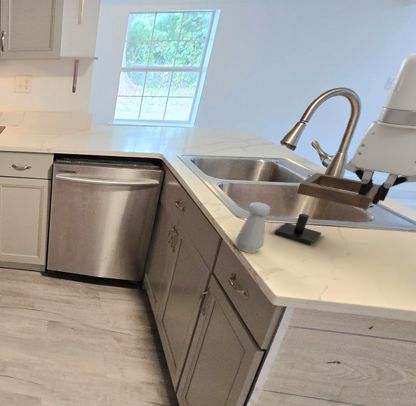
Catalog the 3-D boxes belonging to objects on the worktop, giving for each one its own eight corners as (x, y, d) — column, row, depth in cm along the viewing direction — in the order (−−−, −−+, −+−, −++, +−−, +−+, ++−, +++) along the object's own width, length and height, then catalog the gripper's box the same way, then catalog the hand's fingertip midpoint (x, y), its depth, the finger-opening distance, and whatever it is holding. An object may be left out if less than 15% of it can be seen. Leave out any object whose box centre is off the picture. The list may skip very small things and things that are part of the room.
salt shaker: (251, 243, 98) (264, 199, 93) (266, 254, 93) (281, 208, 88) (229, 243, 99) (241, 199, 94) (242, 255, 93) (256, 209, 88)
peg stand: (320, 236, 101) (328, 216, 98) (310, 245, 97) (318, 224, 94) (285, 226, 107) (291, 206, 105) (274, 234, 103) (280, 214, 100)
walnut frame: (379, 195, 83) (384, 185, 82) (366, 209, 77) (371, 198, 76) (312, 182, 92) (316, 172, 92) (296, 193, 86) (300, 183, 85)
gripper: (469, 120, 70) (424, 208, 77) (357, 111, 81) (328, 187, 89) (465, 126, 66) (418, 217, 73) (348, 115, 77) (318, 195, 85)
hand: (369, 200), depth 81 cm, fingers closed on walnut frame, 1 cm apart
